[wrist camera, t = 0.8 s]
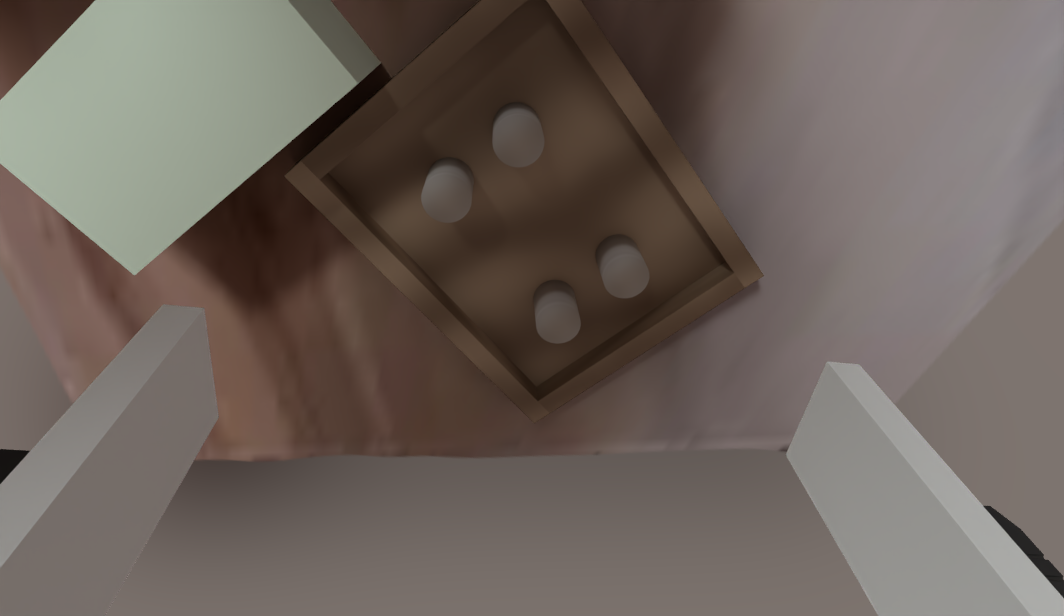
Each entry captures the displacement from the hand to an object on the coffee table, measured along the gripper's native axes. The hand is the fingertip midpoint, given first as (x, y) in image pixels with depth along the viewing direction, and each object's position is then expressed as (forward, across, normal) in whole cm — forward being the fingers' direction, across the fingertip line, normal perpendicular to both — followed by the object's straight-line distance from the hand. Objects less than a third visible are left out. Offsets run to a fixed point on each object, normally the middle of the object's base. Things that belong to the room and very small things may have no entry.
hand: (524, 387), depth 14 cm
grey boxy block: (+22, -14, 0) cm, 26 cm away
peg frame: (+22, +2, -4) cm, 22 cm away
